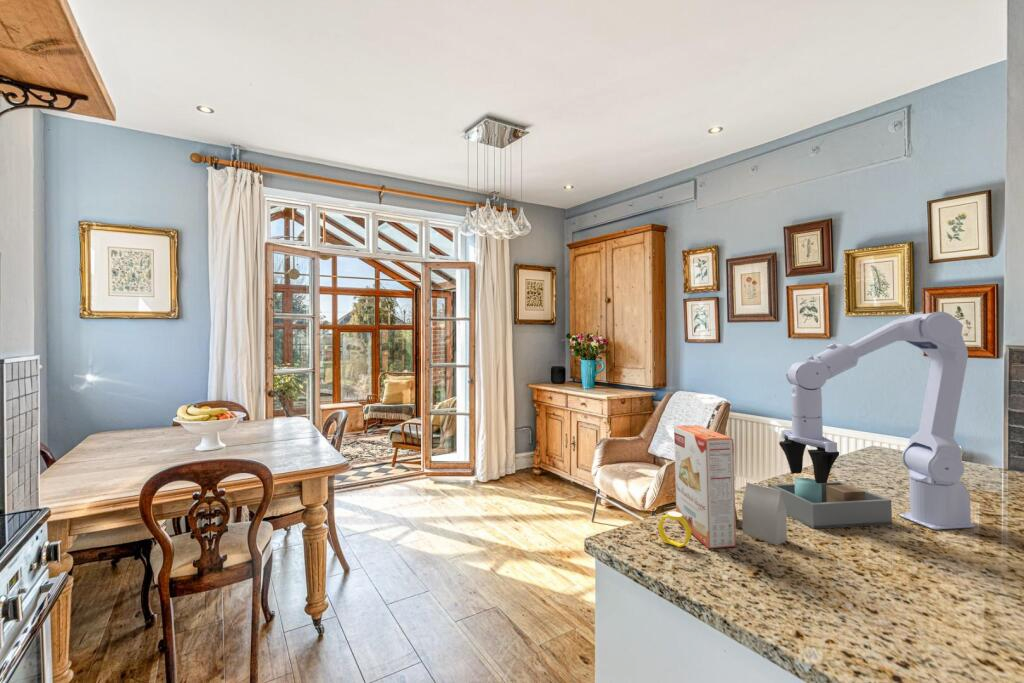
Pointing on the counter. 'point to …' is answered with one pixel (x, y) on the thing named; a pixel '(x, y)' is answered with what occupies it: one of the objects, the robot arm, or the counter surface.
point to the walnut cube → (844, 493)
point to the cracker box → (706, 484)
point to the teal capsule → (808, 490)
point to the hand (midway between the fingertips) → (808, 477)
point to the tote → (836, 509)
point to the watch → (679, 517)
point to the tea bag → (764, 514)
